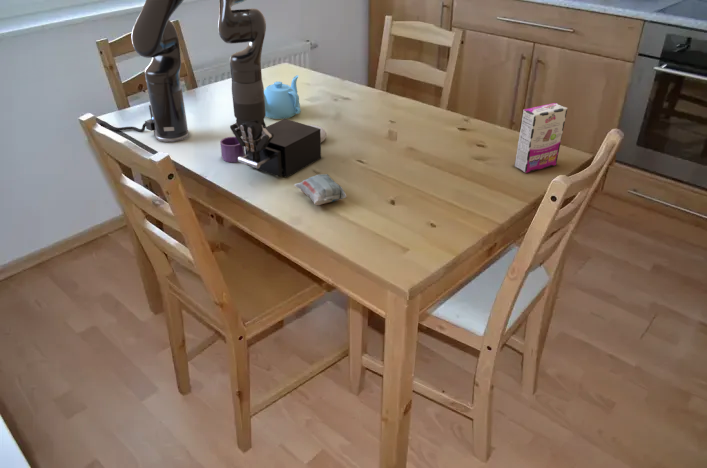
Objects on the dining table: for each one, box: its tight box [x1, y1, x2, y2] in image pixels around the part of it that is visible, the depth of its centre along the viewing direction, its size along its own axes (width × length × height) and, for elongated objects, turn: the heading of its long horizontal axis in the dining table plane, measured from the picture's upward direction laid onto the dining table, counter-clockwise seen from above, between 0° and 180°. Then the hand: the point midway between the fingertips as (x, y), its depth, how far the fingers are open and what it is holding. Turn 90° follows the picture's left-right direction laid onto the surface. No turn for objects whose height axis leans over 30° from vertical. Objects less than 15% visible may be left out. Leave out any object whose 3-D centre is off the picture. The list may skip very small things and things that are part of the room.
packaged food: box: [293, 173, 348, 206], centre depth 141 cm, size 9×12×5 cm
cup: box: [219, 136, 246, 164], centre depth 159 cm, size 6×6×5 cm
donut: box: [307, 124, 327, 143], centre depth 171 cm, size 10×4×10 cm
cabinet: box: [266, 118, 322, 178], centre depth 157 cm, size 15×13×9 cm
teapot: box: [264, 75, 302, 120], centre depth 186 cm, size 15×15×10 cm
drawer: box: [238, 144, 284, 178], centre depth 153 cm, size 19×11×7 cm, turn 145°
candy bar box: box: [514, 102, 569, 174], centre depth 155 cm, size 11×5×16 cm, turn 118°
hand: (254, 163), depth 149 cm, fingers closed
